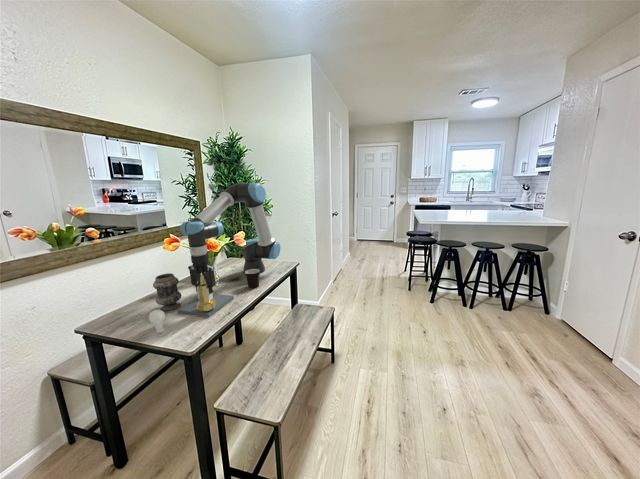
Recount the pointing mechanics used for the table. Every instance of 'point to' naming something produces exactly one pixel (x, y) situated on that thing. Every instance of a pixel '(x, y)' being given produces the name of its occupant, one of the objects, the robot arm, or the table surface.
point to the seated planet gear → (204, 282)
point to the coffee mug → (252, 278)
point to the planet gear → (204, 299)
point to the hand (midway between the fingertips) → (205, 298)
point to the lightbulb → (157, 320)
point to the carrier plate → (192, 310)
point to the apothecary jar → (167, 292)
